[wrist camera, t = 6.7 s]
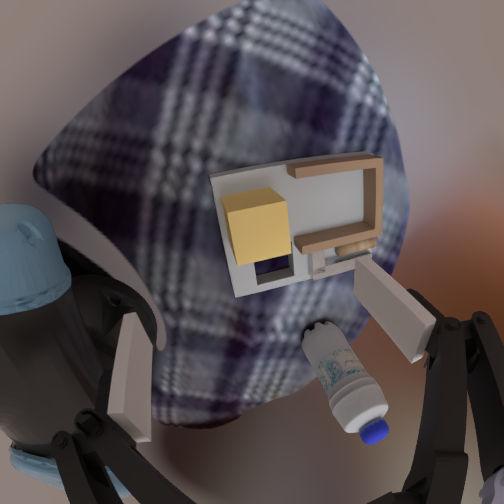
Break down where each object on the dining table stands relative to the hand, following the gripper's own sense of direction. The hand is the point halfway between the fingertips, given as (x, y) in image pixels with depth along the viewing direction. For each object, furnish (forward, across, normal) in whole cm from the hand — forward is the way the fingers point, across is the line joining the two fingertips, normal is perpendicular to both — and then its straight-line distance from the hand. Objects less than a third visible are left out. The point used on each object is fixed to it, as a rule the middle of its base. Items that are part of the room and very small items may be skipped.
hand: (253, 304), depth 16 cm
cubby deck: (+16, +9, -3) cm, 18 cm away
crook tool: (+14, +13, -7) cm, 20 cm away
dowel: (+14, +15, -6) cm, 21 cm away
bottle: (+16, +11, -22) cm, 29 cm away
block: (+14, +3, 0) cm, 14 cm away
